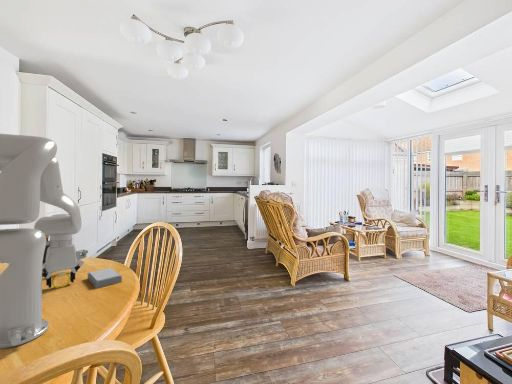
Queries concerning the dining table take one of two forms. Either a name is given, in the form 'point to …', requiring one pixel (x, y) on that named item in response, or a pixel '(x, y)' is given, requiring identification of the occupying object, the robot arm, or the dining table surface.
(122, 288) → the dining table surface
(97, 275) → the stand
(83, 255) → the mechanical component
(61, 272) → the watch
